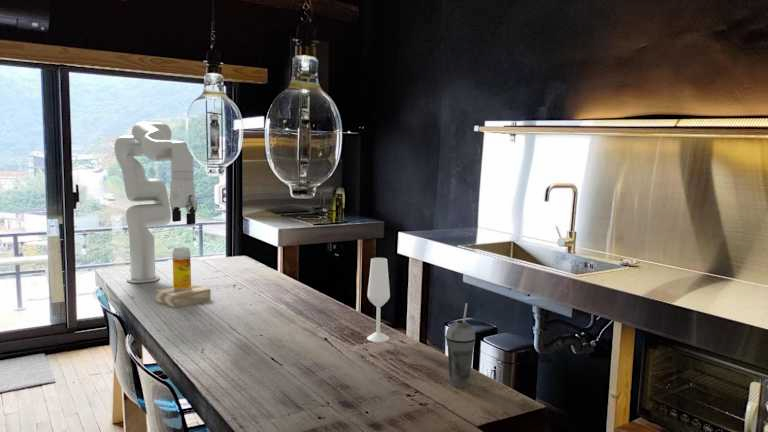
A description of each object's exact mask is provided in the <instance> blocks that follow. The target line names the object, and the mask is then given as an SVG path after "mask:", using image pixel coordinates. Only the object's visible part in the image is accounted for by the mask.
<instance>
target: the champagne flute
mask: <svg viewBox="0 0 768 432" xmlns="http://www.w3.org/2000/svg"><path fill="white" fill-rule="evenodd" d="M369 266H370V267H369V277H368V285H367V293H366V294H367V295H366V296H367V298H368V301H369V302H370V303H371V304H372V305H374V307H376V321H375V322H376V323H375V325H376V327H375V329H376V331H375V332H374V333H372V334H370V335H368V336H367V337H366V339H367V340H368V341H370V342H373V343H383V342H387V341H389V340H390V337H389V336H388V335H386V334H385V333H382V332H381V307H383V306H384V305H385V304H386V303H387V302H388V301H389V299H390V297H391V292H390V279H389V266H388V259H387V258H385V257H373V258H370V265H369Z"/></svg>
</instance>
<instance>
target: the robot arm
mask: <svg viewBox="0 0 768 432" xmlns="http://www.w3.org/2000/svg"><path fill="white" fill-rule="evenodd" d="M131 134H132V135H122V136H120V137H117V138H116V140H115V142H114V154H115V157H116V160H117V162H118V165H119V167H120V169H121V171H122V177H123V184H124V191H125V195H126V198H127V200H128V201H130V202H132V203H143V202H145V203H143V204H134V205H131V206H129V207H128V208H127V209H126V211H125V218H126V219H125V220H126V224H127V229H128V238H129V241H128V243H129V261H130V262H129V264H130V269H129V273H130V276H127V277H126V281H127V282H128V283H131V284H146V283H153V282H156V281H159V280H160V277H161V276H160V275H159V274H156V250H155V248H156V247H155V238H154V237H155V236H154V235H153V233H152V232H151V231H150V230H149V228H151V227H162V226H167V225H169V223H170V222H171V221H172V222H173V223H174V222H176V223H177V222H181V221H182V210H181V209H185V211H186V225H196V213H197V209H198V204H199V202H198V201H197V199H196V193H195V192H196V190H195V183H194V178H195V177H194V175H195V174H194V155H193V156H192V155H191V153H190V152H189V150H188V148H187V144H186V142H187V141H183V140H171V139H172V130H171V127H170V126H169V125H168V124H167V123H165V122H158V121H157V122H156V121H155V122H154V121H153V122H152V121H150V122H149V121H141V122H137V123H135V125H133V126H132V127H131ZM136 157H146V158H148V159H150V160H151V161H154V162H170V166H171V167H170V169H171V171H170V172H171V181H170V187H169V190H170V191H169V195H168V189H167V186H166V184H165V182H164V181H163V180H162V179H160V178H147V177H146V173H145V168H144V166H143V164H142V163H141V162H140V161H139V160H138V158H137V159H136ZM146 202H153V203H146Z"/></svg>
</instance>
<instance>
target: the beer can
mask: <svg viewBox="0 0 768 432" xmlns="http://www.w3.org/2000/svg"><path fill="white" fill-rule="evenodd" d="M191 266H192V265H191V251H190V248H189V247H175V248H173V251H172V275H173V276H172V277H173V279H172V281H173V282H172V286H173V287H174V289H175V290H176V291H186V290H189V289H190V287H191V284H192V271H191V269H192V267H191Z"/></svg>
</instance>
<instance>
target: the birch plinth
mask: <svg viewBox="0 0 768 432" xmlns="http://www.w3.org/2000/svg"><path fill="white" fill-rule="evenodd" d="M211 292H212V291H211V288H207V287H205V286H204V287H203V286H200V285H197V284H194V283H191V287H190V289H189V290H186V291H176V290H175V289H174V287H173V285H172V286H169V287H168V286H167V287H162V288H157V289H154V301H155V302H157V303H162V304H164V305H167V306H170V307H173V308H175V309H177V308H181V307H185V306H189V305H196V304H198V303H203V302H208V301H210V300H211V299H212V298H211Z"/></svg>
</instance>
